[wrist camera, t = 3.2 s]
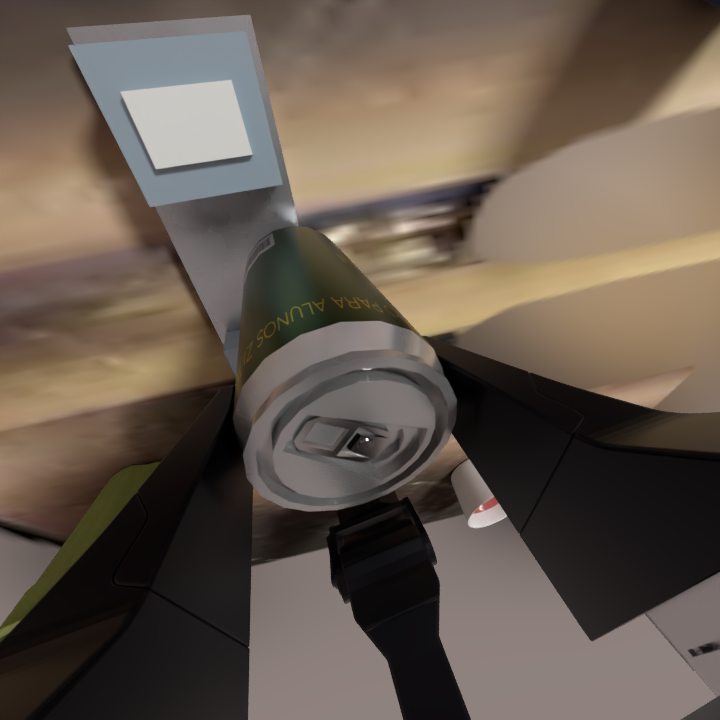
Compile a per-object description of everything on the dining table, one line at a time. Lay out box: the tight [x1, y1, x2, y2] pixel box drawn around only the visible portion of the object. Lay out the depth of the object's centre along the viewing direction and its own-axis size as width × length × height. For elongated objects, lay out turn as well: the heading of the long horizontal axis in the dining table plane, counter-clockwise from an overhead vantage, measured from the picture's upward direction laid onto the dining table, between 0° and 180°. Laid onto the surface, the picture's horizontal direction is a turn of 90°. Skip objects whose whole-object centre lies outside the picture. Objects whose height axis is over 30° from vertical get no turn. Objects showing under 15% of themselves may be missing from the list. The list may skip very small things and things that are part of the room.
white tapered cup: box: [451, 459, 507, 528], centre depth 41 cm, size 9×9×6 cm
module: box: [68, 31, 283, 207], centre depth 13 cm, size 5×6×3 cm
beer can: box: [233, 226, 457, 512], centre depth 11 cm, size 5×5×12 cm
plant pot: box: [0, 462, 160, 642], centre depth 22 cm, size 12×12×11 cm
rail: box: [66, 15, 299, 345], centre depth 18 cm, size 20×7×1 cm, turn 8°
